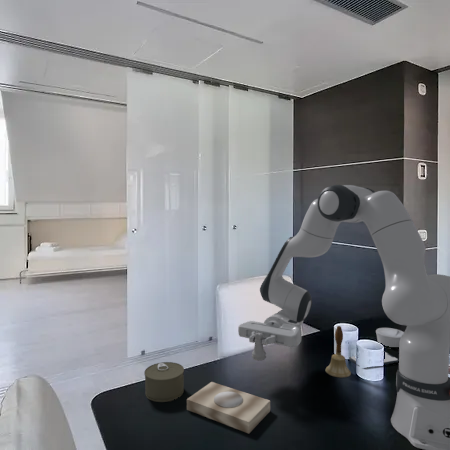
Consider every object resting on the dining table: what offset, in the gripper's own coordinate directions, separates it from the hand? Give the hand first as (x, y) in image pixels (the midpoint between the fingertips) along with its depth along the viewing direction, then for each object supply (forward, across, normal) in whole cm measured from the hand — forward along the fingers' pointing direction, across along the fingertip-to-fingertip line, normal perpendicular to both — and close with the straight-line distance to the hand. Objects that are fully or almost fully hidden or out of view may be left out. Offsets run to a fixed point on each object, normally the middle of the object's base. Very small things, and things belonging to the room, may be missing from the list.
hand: (257, 341), depth 111 cm
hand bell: (-27, +17, +16) cm, 36 cm away
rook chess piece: (-1, 0, +6) cm, 6 cm away
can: (+15, -24, +16) cm, 33 cm away
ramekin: (-63, +28, +17) cm, 71 cm away
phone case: (-43, +25, +17) cm, 52 cm away
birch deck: (+13, -2, +16) cm, 21 cm away
